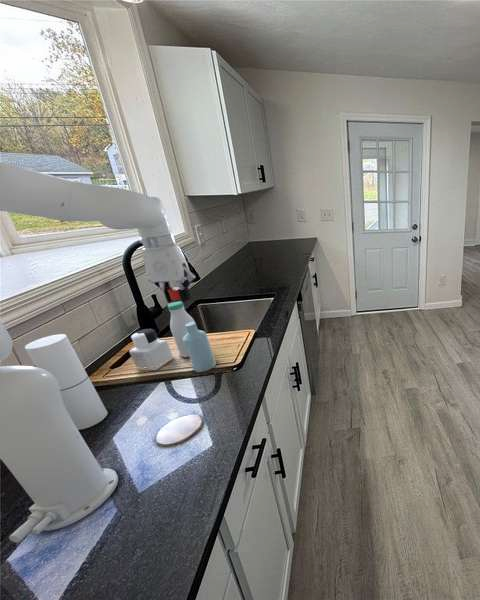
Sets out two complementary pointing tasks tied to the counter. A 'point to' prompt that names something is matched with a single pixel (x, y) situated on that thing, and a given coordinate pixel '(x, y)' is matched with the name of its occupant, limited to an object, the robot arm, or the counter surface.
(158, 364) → the container
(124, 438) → the counter surface
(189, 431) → the coaster
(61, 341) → the cylindrical container
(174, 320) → the milk bottle
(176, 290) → the cap
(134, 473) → the counter surface
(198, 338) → the water bottle
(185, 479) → the counter surface
